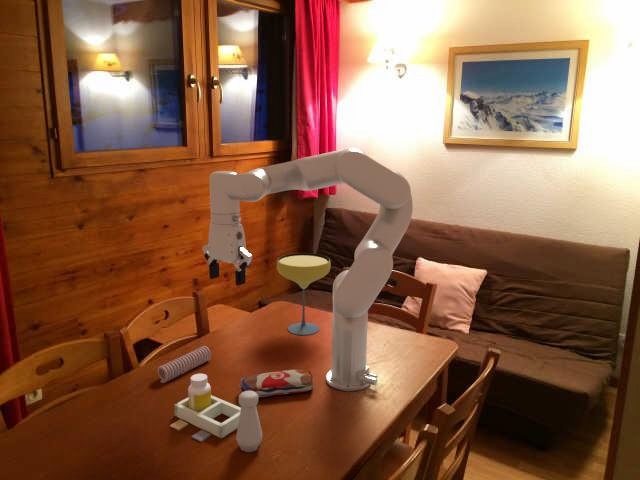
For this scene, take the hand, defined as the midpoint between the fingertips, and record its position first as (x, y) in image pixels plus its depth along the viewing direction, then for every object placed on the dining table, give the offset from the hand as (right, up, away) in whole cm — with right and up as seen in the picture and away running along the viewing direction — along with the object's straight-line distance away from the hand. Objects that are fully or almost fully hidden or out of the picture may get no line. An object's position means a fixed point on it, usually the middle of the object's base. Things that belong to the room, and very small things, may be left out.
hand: (227, 281), depth 143 cm
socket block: (-2, -32, -14) cm, 35 cm away
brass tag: (-8, -33, -17) cm, 38 cm away
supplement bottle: (-5, -32, -12) cm, 34 cm away
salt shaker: (+9, -35, -25) cm, 44 cm away
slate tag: (-2, -34, -21) cm, 40 cm away
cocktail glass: (+19, -20, +41) cm, 49 cm away
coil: (-14, -27, +11) cm, 32 cm away
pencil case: (+13, -30, -1) cm, 33 cm away
